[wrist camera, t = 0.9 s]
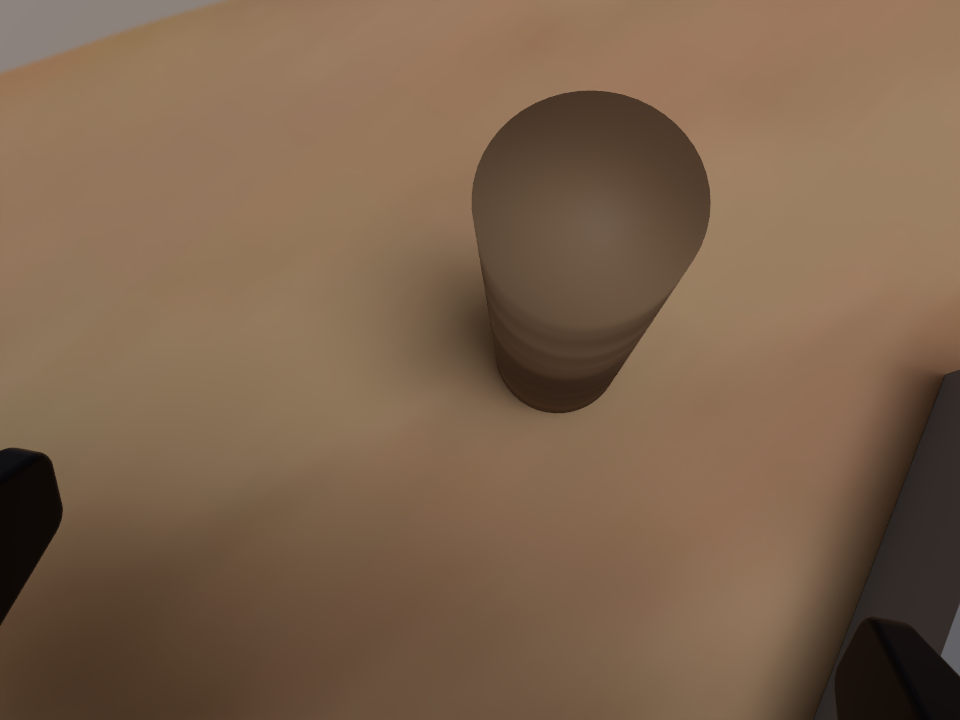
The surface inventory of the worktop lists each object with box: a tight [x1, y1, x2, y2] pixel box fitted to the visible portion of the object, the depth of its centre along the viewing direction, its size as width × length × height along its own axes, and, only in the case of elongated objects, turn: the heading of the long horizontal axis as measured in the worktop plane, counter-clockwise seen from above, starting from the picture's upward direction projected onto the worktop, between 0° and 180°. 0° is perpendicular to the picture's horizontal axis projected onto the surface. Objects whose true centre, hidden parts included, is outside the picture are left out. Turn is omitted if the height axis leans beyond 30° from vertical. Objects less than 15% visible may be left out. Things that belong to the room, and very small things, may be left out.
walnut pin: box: [472, 91, 710, 413], centre depth 17 cm, size 4×4×11 cm
